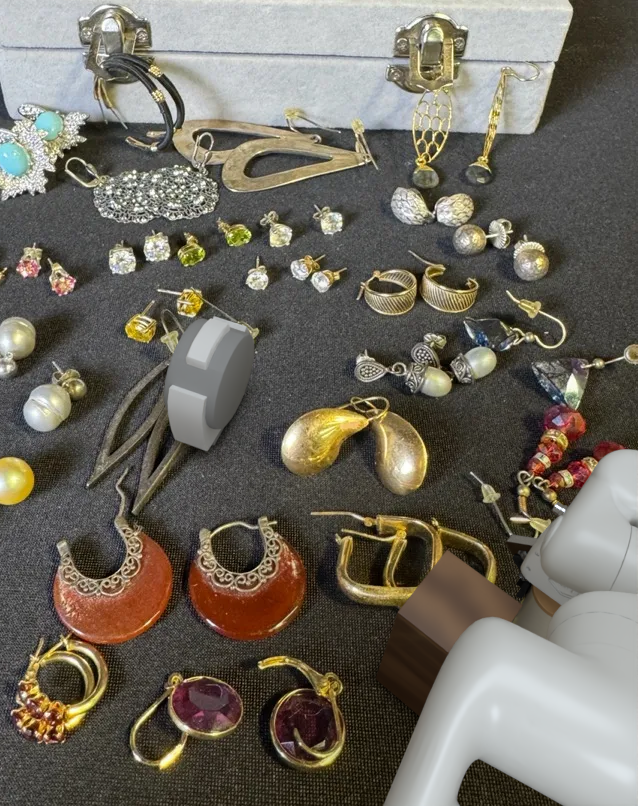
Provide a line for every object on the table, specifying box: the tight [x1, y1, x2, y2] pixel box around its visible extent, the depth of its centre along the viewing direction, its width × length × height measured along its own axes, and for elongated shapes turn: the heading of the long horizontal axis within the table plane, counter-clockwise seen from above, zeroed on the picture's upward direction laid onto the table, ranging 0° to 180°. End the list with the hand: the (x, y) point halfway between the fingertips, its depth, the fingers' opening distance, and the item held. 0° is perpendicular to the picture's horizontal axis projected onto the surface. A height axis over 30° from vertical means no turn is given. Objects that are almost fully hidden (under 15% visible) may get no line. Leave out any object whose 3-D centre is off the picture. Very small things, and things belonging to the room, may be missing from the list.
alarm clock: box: [163, 315, 255, 452], centre depth 126 cm, size 18×8×20 cm, turn 157°
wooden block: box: [375, 549, 523, 717], centre depth 98 cm, size 10×10×22 cm
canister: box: [512, 584, 561, 639], centre depth 99 cm, size 7×7×16 cm
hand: (550, 607), depth 97 cm, fingers closed on canister, 6 cm apart
